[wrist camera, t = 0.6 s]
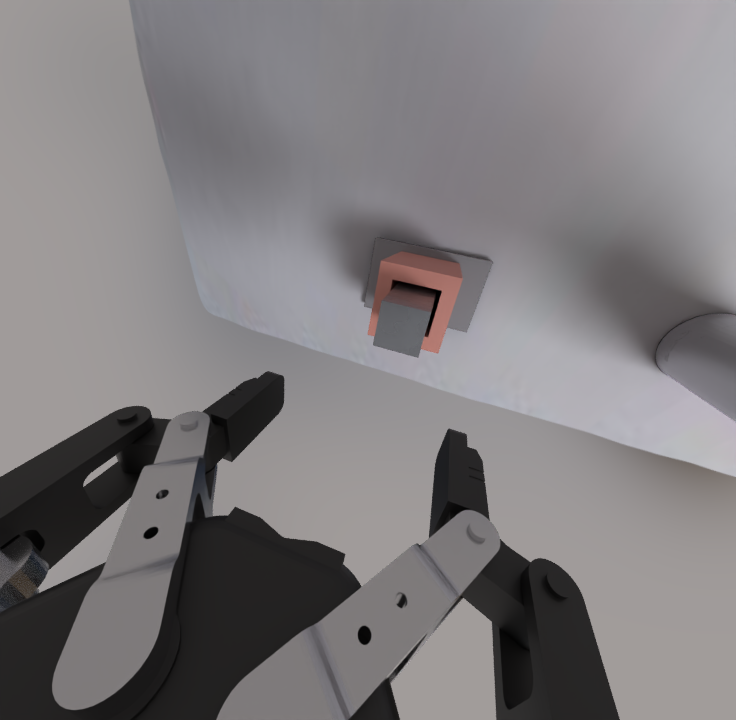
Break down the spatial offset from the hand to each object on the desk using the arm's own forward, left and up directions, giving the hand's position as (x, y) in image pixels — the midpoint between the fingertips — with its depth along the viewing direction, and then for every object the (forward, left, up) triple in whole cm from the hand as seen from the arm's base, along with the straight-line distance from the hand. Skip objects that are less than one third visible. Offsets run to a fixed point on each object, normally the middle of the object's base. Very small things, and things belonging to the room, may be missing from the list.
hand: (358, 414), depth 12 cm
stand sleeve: (0, 0, -32) cm, 32 cm away
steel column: (0, 0, -30) cm, 30 cm away
